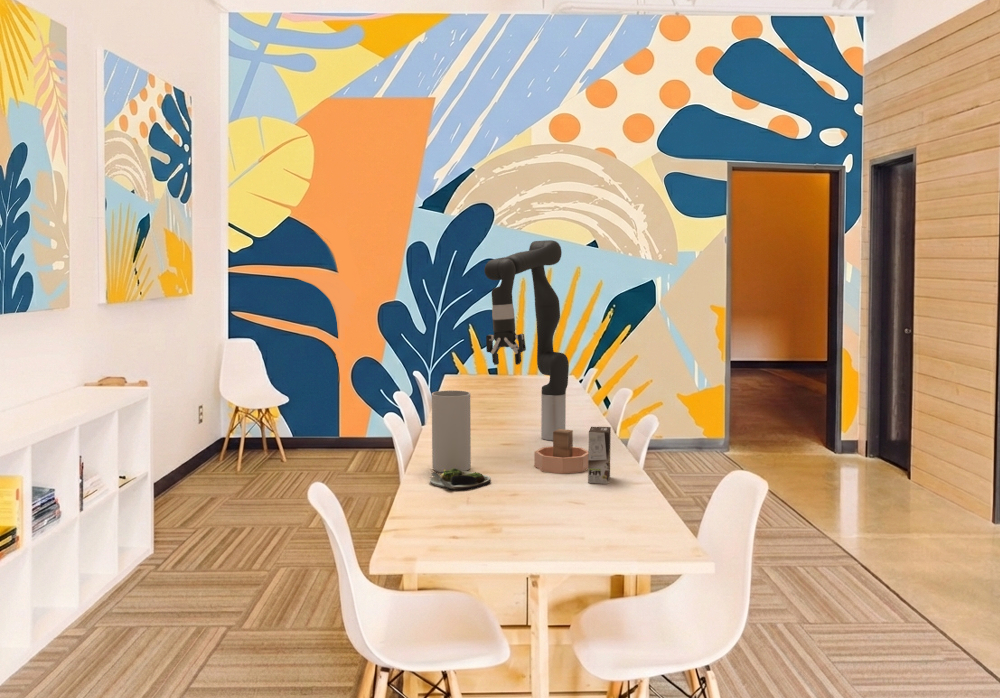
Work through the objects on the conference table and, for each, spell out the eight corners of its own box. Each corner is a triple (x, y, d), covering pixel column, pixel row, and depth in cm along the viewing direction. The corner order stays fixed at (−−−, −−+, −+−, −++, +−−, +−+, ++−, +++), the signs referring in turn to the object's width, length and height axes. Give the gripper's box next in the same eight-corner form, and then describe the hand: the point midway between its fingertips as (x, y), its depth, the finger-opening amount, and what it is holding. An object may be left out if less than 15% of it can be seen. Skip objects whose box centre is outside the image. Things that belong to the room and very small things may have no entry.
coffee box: (608, 484, 252) (609, 432, 250) (587, 483, 253) (588, 431, 251) (610, 476, 261) (611, 426, 259) (590, 475, 262) (590, 425, 260)
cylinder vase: (427, 466, 274) (426, 391, 271) (462, 462, 279) (462, 389, 276) (439, 475, 262) (439, 397, 260) (476, 471, 267) (476, 395, 265)
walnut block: (558, 461, 277) (558, 428, 275) (572, 462, 274) (572, 430, 273) (552, 464, 272) (553, 431, 271) (567, 466, 270) (567, 433, 269)
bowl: (548, 458, 285) (548, 444, 284) (595, 463, 277) (595, 449, 277) (528, 469, 269) (528, 454, 269) (577, 475, 262) (577, 460, 261)
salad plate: (412, 483, 254) (412, 468, 254) (454, 472, 267) (454, 458, 267) (456, 495, 241) (456, 480, 241) (498, 483, 254) (498, 468, 254)
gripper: (527, 315, 283) (530, 362, 285) (491, 317, 290) (494, 363, 292) (516, 318, 277) (519, 366, 278) (480, 319, 284) (483, 366, 286)
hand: (507, 364), depth 285 cm, fingers open, 8 cm apart
